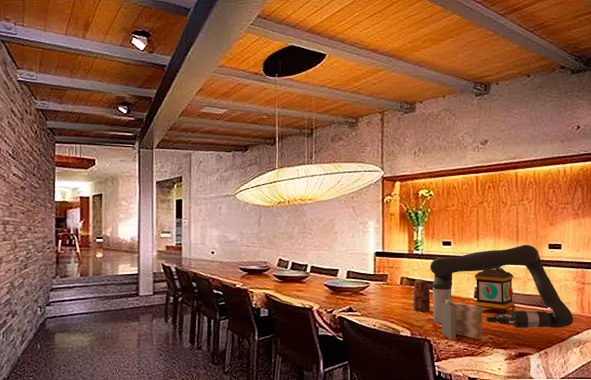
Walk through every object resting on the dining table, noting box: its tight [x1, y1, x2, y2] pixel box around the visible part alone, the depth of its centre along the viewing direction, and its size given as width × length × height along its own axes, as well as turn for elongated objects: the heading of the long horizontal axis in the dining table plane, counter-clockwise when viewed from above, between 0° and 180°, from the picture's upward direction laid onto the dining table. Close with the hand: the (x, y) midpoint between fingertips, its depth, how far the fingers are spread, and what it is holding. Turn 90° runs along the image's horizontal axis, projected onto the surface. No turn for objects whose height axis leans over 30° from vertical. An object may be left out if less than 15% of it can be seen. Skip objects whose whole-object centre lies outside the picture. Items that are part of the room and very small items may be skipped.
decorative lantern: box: [474, 267, 516, 315], centre depth 278 cm, size 20×20×30 cm
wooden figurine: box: [413, 279, 431, 313], centre depth 278 cm, size 12×6×18 cm, turn 33°
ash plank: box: [449, 301, 484, 340], centre depth 216 cm, size 16×2×14 cm, turn 35°
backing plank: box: [441, 299, 457, 341], centre depth 218 cm, size 17×5×15 cm, turn 0°
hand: (487, 319), depth 214 cm, fingers closed
